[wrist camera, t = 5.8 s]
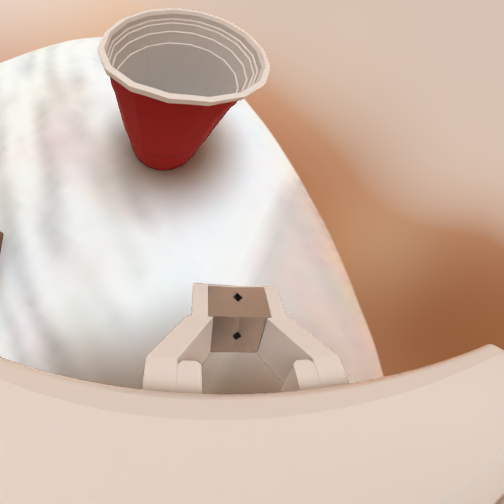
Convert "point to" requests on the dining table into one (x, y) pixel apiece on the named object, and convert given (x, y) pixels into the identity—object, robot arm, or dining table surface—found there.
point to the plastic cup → (178, 78)
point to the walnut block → (0, 237)
